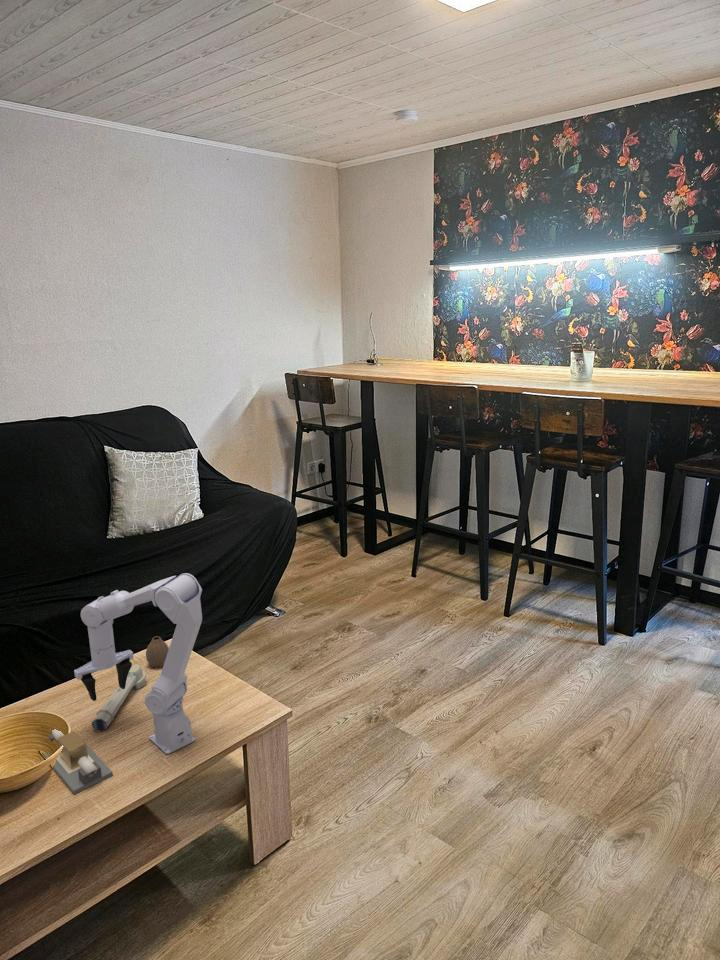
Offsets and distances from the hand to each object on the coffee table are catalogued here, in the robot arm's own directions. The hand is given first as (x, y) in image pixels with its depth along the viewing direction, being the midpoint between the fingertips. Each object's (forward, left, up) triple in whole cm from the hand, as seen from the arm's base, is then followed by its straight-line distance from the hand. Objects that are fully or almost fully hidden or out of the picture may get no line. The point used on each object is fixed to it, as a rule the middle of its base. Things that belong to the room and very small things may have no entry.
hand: (108, 693), depth 173 cm
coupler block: (-8, +13, -8) cm, 17 cm away
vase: (+20, -24, -10) cm, 33 cm away
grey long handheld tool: (+8, -6, -10) cm, 14 cm away
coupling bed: (-8, +13, -9) cm, 18 cm away
